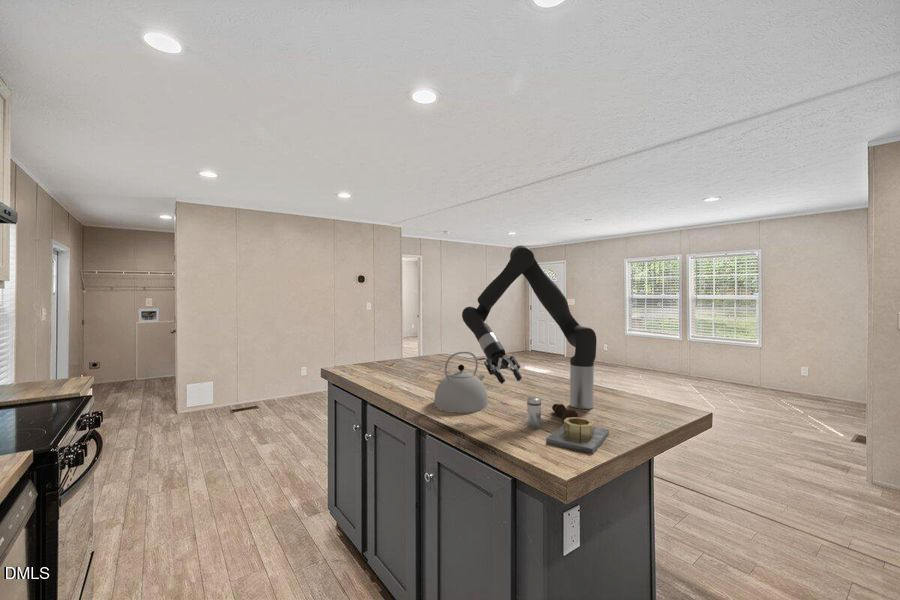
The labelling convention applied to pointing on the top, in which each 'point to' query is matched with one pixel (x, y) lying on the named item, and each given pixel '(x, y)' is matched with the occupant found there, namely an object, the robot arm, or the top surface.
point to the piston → (533, 413)
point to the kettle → (461, 391)
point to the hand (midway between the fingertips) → (511, 381)
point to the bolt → (563, 411)
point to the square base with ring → (578, 435)
